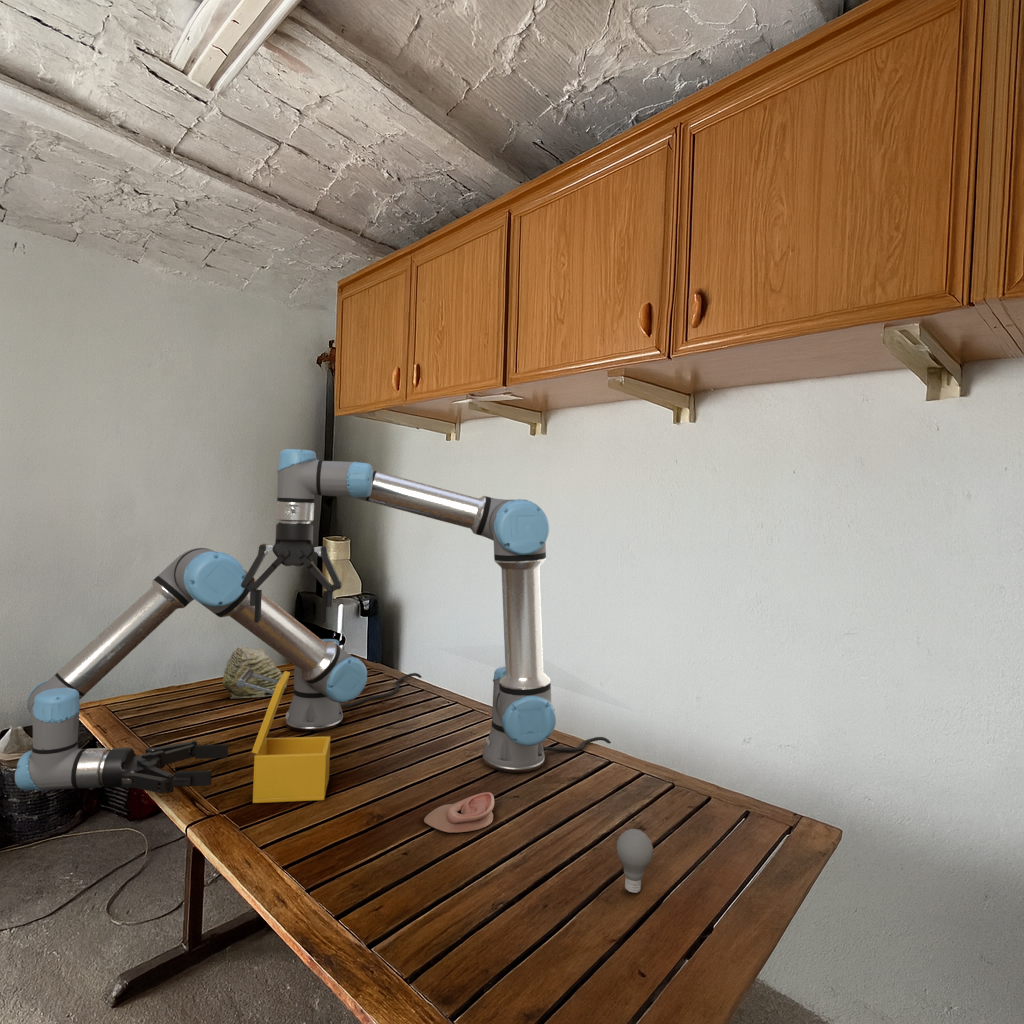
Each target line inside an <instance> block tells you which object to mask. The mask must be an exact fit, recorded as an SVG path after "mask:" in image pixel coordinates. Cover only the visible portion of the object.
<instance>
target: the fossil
mask: <svg viewBox="0 0 1024 1024" xmlns="http://www.w3.org/2000/svg"><path fill="white" fill-rule="evenodd" d="M248 669H251V670H252V671H253V673H256V674H259V675H263V676H266V677H269V678H273V679H276V680H280V678H281V677H282V675H283V672H281V669H279V668H278V667H277V665H276V663H275V662H274V660H273V659H272V658H271V657H270V656H269V655H268V654H267V653H266V652H265V650H264V649H263V648H260V647H258V648H251V647H247V646H246V647H245V646H238V647H237V648H236V649H235V650H233V651H232V653H231V656H230V657H229V659H228V660H227V663H226V666H225V668H224V671H223V675H222V676H223V677H222V685H223V687H224V688H225V690H226V691H228V693H229V698H230V699H250V698H264V697H272V696H273V694H270V693H267V692H263V691H260V690H256V689H253V688H250V687H246V686H243V687H238V686H237V681H238V680H239V679H240V677H241V676H242V675H243V674H244V673H245V671H246V670H248ZM248 683H251V684H255V685H258V686H262V687H265V688H268V689H272V690H275V688H276V685H277V684H275V683H272V682H268V681H265V680H262V679H258V678H255V677H251V678H250V679H249V680H248ZM287 687H288V686H287V684H286V686H285V689H284V692H285V691H286V689H287Z"/></svg>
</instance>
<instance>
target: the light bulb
mask: <svg viewBox="0 0 1024 1024" xmlns="http://www.w3.org/2000/svg"><path fill="white" fill-rule="evenodd" d="M615 849H616V854H617V857H618V859H619V861H620V863H621V865H622V867H623V873H624V874H623V875H624V876H625V878H624V888H625V890H627V891H628V892H630V893H634V894H635V893H639V892H640V891H641V889H642V887H641V886H642V879H643V877H644V875H645V871H646V868H647V867H648V866H649V864H650V863H651V861H652V859H653V855H654V847H653V843H652V841H651V838H649V836H648V835H647V834H646V833H645V832H643V831H642V830H641V829H636V828H629V829H627V830H625V831H623V832H622V833H621V834H620V835H619V837H618V839H617V841H616V847H615Z"/></svg>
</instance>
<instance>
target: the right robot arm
mask: <svg viewBox="0 0 1024 1024" xmlns="http://www.w3.org/2000/svg"><path fill="white" fill-rule="evenodd" d="M276 471H277V494H276V495H277V496H276V514H275V515H276V516H275V517H276V518H275V519H276V521H278V522H277V523H276V524H275V541H274V544H273V545H270V544H266V543H262V544H259V546H258V551H257V555H256V557H255V558H254V561H253V562H252V564H251V566H250V567H249V569H248V570H247V572H248V573H247V575H246V576H245V578H244V580H243V581H242V583H241V587H242V588H246V589H249V590H250V605H251V606H255V618H254V623H258V622H259V621H260V620H261V598H262V593H263V589H259V588H260V587H261V585H263V584H264V583H265V581H266V580H268V578H269V577H270V576H271V575H272V574H273V573H274V572H275V571H276V570H277V569H278V568H279V567H280V566H281V565H283V566H284V567H293V566H294V567H302V566H305V568H307V570H309V571H310V573H311V574H312V575H313V576H314V577H315V579H316V580H317V582H319V583H320V585H321V586H322V587H323V588H324V589H325V590H323V591H322V607H321V609H322V610H321V624H326V623H327V620H328V608H331V607H333V604H334V603H333V600H334V592H335V591H337V590H340V589H341V588H342V586H343V584H342V581H341V580H340V577H339V575H338V572H337V571H336V568H335V567H334V564H333V562H332V560H331V558H330V556H329V548H328V547H329V546H328V545H322V546H314V525H313V523H312V522H313V521H314V519H315V516H314V515H315V496H327V497H343V498H344V497H347V498H353V499H356V500H361V501H364V502H369V503H373V504H376V505H380V506H384V507H388V508H391V509H395V510H399V511H402V512H407V513H409V514H410V513H411V514H413V515H417V516H421V517H425V518H429V519H433V520H436V521H440V522H444V523H446V524H451V525H455V526H459V527H463V528H466V529H470V531H472V534H474V535H476V536H481V537H483V538H486V539H488V540H491V541H492V542H493V558H494V560H493V561H494V562H495V563H496V564H497V565H498V567H500V568H501V589H502V590H501V591H502V592H501V593H502V594H501V595H502V618H503V641H504V643H503V645H504V666H501V667H498V668H496V669H495V670H494V673H493V679H492V682H493V686H492V687H493V689H492V707H491V708H492V709H491V729H490V732H489V734H488V736H486V738H485V745H484V748H483V752H482V762H483V763H484V764H485V765H486V766H487V767H489V768H490V769H493V770H495V771H498V772H503V773H510V774H511V773H512V774H522V773H529V772H535V771H537V770H539V769H540V768H542V767H543V766H544V764H545V760H546V759H545V758H546V757H545V756H546V755H545V751H551V752H579V751H581V750H583V749H584V747H585V745H587V744H589V743H593V742H597V741H603V742H604V743H606V744H612V742H611V741H610V740H609V738H606V737H603V736H595V737H592V738H588V739H585V740H583V741H582V742H581V744H580V745H579V746H576V747H555V746H543V743H544V742H545V741H546V740H547V739H549V737H551V735H552V734H553V732H554V730H555V728H556V725H557V713H556V710H555V707H554V705H553V703H552V685H551V684H552V683H551V678H550V676H548V674H547V673H545V672H544V648H543V646H544V645H543V624H542V623H543V620H542V619H543V618H542V596H541V595H542V594H541V568H540V567H541V565H543V563H545V561H546V560H547V548H546V547H547V546H546V543H547V540H548V537H549V534H550V524H549V519H548V517H547V515H546V513H545V512H544V510H543V509H542V508H541V507H540V506H539V505H538V504H536V503H535V502H533V501H532V500H528V499H522V498H517V499H504V498H503V499H502V498H496V497H495V498H494V497H490V496H487V495H483V496H481V497H475V496H470V495H468V494H463V493H459V492H456V491H452V490H449V489H445V488H441V487H437V486H434V485H430V484H426V483H423V482H419V481H415V480H413V479H412V480H411V479H407V478H404V477H401V476H397V475H392V474H389V473H386V472H382V471H378V470H374V469H373V466H372V464H370V463H368V462H360V461H342V460H341V461H337V460H320V459H318V458H317V454H316V451H314V450H311V449H310V450H309V449H297V448H285V449H282V450H281V451H280V452H279V458H278V468H277V470H276ZM271 552H273V554H274V556H275V557H276V559H275V560H274V561H273V562H272V563H271V565H269V566H268V568H267V569H265V570H264V572H263V573H262V574H261V575H260V576H258V578H257V579H255V582H254V583H251V581H252V579H253V577H254V578H255V576H256V573H257V572H258V570H259V568H260V567H261V565H262V563H263V561H264V560H265V558H266V556H268V555H270V553H271ZM315 553H316V554H317V556H318V557H320V558H321V560H322V562H323V564H324V566H325V569H326V571H327V573H328V575H329V577H330V579H331V582H332V583H333V584H332V583H331V582H330V581H329V580H328V579H327V578H326V577H327V576H325V575H324V574H323V573H322V571H321V570H320V569H319V567H317V565H316V564H315V562H314V561H313V560H312V558H311V557H312V556H313V554H315Z"/></svg>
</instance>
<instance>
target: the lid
mask: <svg viewBox="0 0 1024 1024" xmlns="http://www.w3.org/2000/svg"><path fill="white" fill-rule="evenodd" d="M290 676H291V672H290V671H287V670H284V671H283V672H282V677H281V678H280V680H276V679H273V678H269V677H266V676H263V675H259V674H256V673H253V671H252V670H251V669H248V670H246V671H245V673H244V674H243V675H242V676H241V677H240V679H239V680H238V681H237V686H238V687H243V686H246V687H250V688H253V689H256V690H260V691H263V692H267V693H270V694H273V695H272V696H271V699H270V701H269V704H268V707H267V709H266V712H265V715H264V718H263V720H262V722H261V726H260V728H259V731H258V734H257V735H256V739H255V742H254V744H253V747H252V749H251V753H252V754H255V755H256V754H258V752H259V750H260V749H261V747H262V745H263V743H264V741H265V739H266V738H268V735H269V732H270V729H271V727H272V724H273V721H274V718H275V715H276V713H277V710H278V707H279V705H280V702H281V699H282V697H283V694H284V693H285V691H284V689H285V686H286V685H287V684H288V681H289V678H290ZM251 677H255V678H258V679H262V680H265V681H268V682H272V683H275V684H277V685H276V688H275V690H272V689H268V688H265V687H262V686H258V685H255V684H251V683H248V680H249V679H250V678H251Z"/></svg>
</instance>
